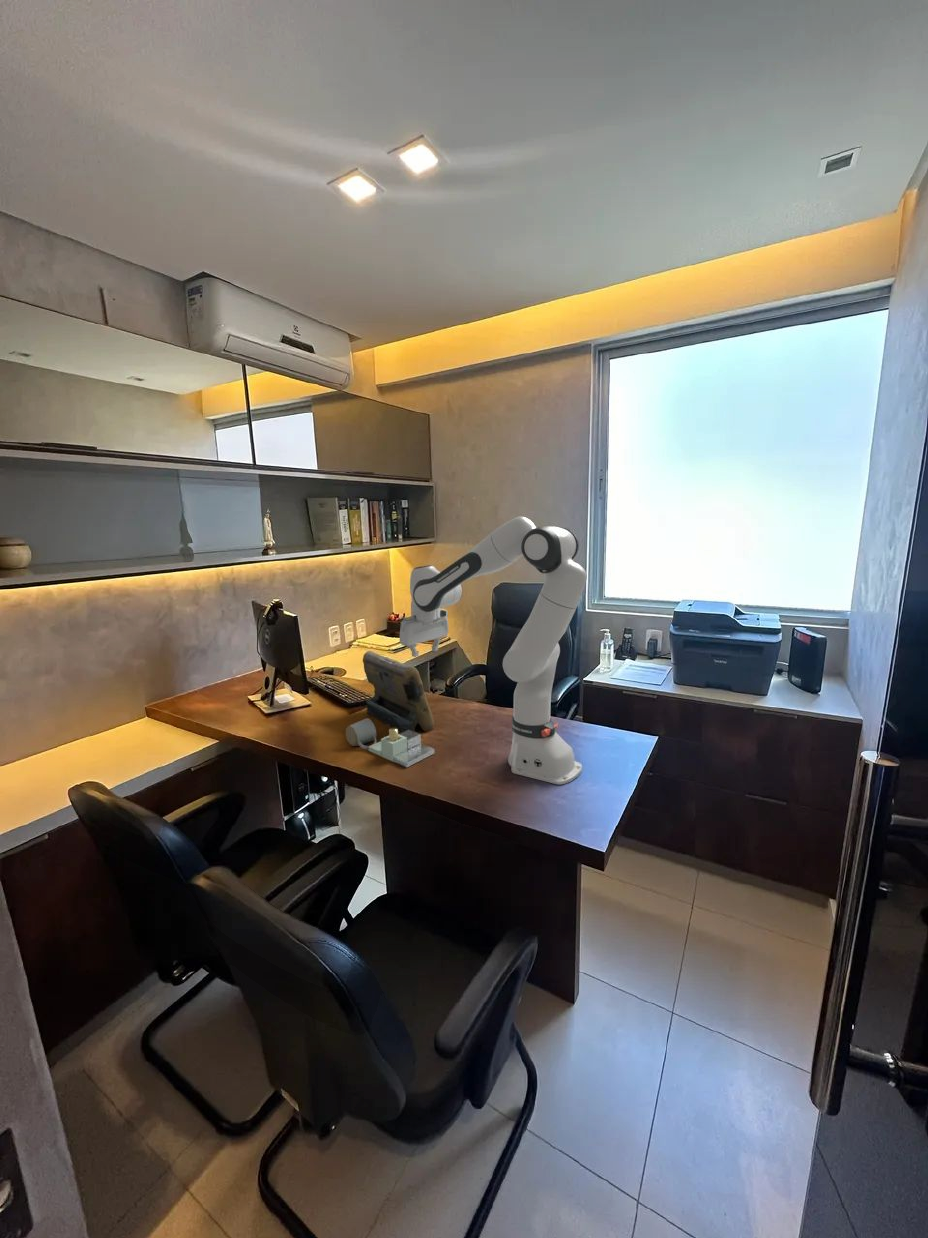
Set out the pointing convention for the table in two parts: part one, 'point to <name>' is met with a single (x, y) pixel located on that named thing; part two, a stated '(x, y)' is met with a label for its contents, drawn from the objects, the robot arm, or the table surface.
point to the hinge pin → (393, 734)
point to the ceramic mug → (361, 733)
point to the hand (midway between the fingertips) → (425, 653)
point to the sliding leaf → (413, 750)
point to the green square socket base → (389, 747)
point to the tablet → (397, 694)
